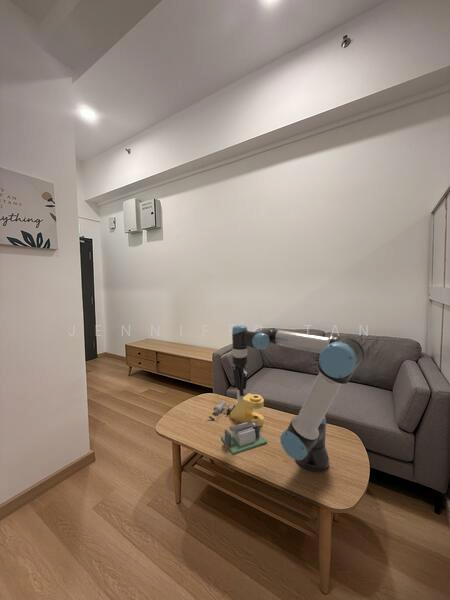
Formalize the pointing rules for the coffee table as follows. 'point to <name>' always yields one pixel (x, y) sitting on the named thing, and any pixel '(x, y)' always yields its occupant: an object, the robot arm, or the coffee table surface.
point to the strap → (242, 426)
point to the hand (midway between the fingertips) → (240, 400)
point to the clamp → (248, 409)
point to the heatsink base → (239, 449)
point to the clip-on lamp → (219, 408)
